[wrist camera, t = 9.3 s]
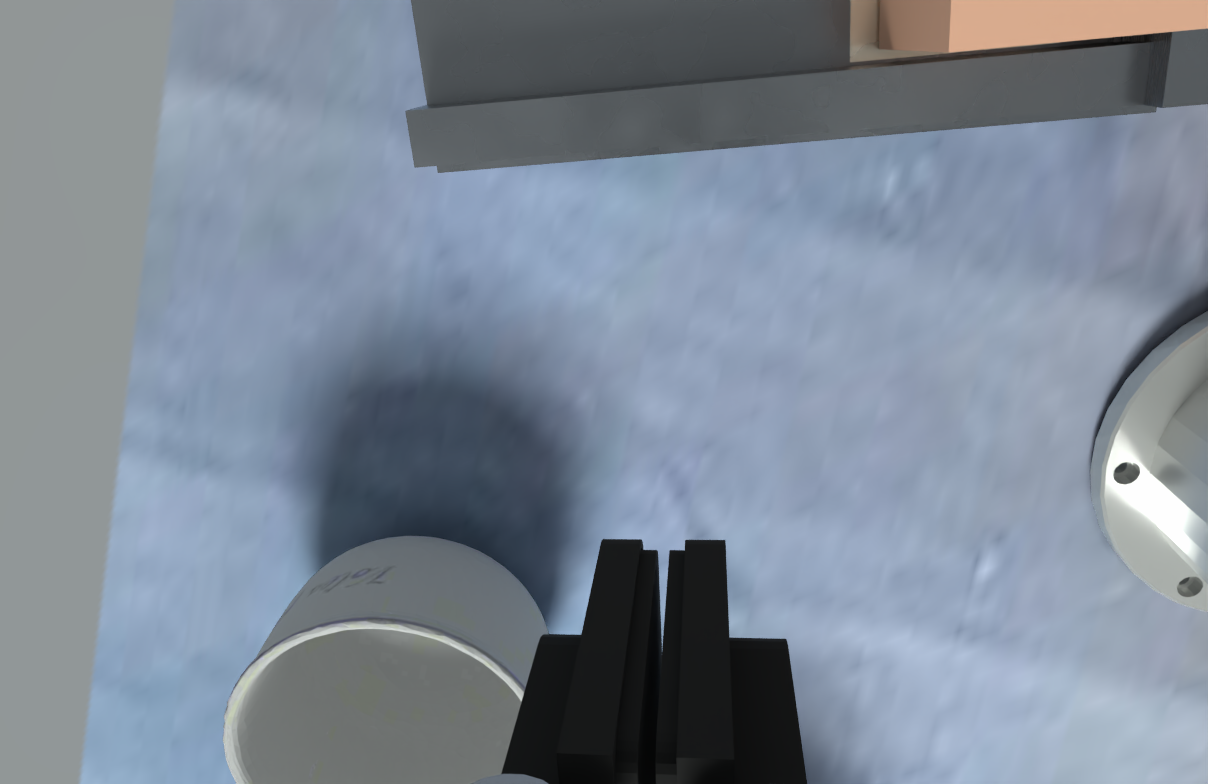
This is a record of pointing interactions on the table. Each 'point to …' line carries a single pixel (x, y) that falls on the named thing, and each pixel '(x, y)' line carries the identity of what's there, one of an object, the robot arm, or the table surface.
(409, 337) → the table surface
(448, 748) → the teacup
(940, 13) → the block
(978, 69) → the chute
